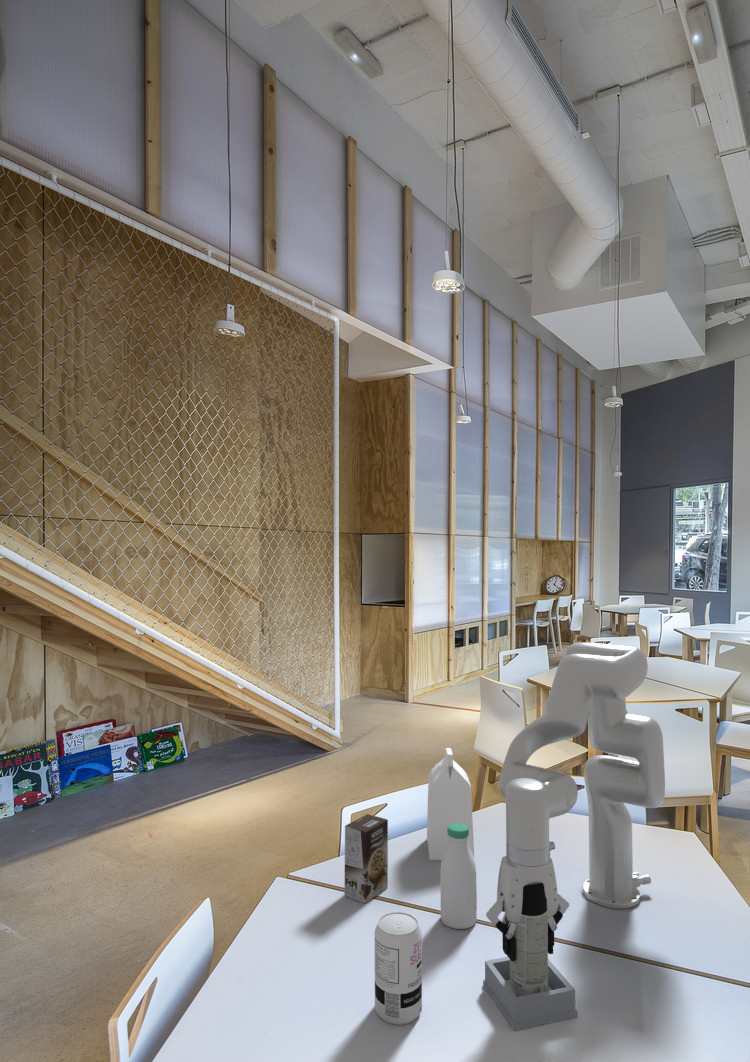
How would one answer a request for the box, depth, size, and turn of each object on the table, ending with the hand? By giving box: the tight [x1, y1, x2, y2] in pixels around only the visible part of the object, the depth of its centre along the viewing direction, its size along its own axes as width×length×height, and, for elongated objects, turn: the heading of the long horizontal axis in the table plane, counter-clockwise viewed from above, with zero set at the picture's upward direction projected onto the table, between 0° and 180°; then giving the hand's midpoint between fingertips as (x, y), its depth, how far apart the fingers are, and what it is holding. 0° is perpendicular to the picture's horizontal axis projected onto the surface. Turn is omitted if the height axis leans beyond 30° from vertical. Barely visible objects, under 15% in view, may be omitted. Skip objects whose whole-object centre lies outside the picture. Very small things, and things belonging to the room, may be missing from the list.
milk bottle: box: [440, 823, 478, 930], centre depth 143 cm, size 8×8×20 cm
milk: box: [426, 747, 475, 861], centre depth 177 cm, size 12×12×26 cm
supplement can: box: [374, 911, 423, 1026], centre depth 115 cm, size 8×8×15 cm
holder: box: [482, 956, 579, 1032], centre depth 118 cm, size 12×12×4 cm
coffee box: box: [343, 813, 389, 904], centre depth 155 cm, size 9×6×16 cm
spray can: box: [510, 883, 549, 997], centre depth 118 cm, size 7×7×20 cm
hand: (528, 952), depth 118 cm, fingers closed on spray can, 6 cm apart
